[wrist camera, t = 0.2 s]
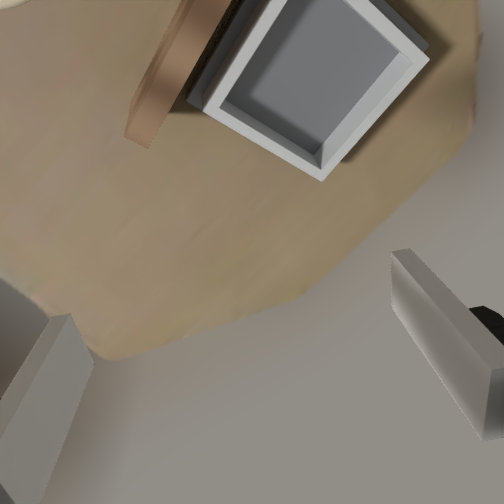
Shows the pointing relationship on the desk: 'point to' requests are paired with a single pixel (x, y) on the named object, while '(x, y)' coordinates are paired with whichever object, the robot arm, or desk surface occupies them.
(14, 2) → the travel mug
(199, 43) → the door edge rail
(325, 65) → the socket
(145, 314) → the desk surface
